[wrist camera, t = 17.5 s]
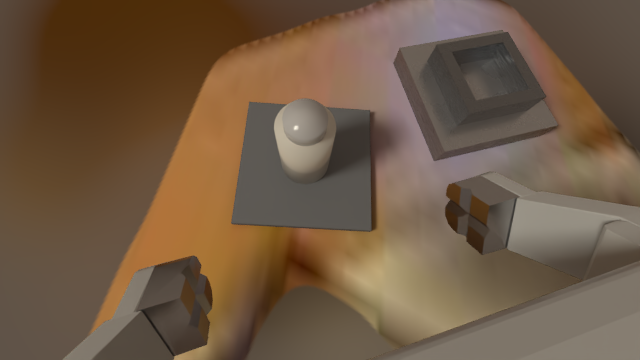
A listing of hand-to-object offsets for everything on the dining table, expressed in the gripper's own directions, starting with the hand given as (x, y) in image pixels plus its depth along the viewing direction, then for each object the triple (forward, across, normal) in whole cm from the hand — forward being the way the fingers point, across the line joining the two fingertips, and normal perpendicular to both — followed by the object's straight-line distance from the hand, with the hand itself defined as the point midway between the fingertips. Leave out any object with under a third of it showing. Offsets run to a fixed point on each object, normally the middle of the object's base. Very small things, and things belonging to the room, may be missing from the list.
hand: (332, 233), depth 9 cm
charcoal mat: (+15, -1, +4) cm, 16 cm away
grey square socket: (+17, -18, +2) cm, 25 cm away
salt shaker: (+15, -1, +4) cm, 15 cm away
